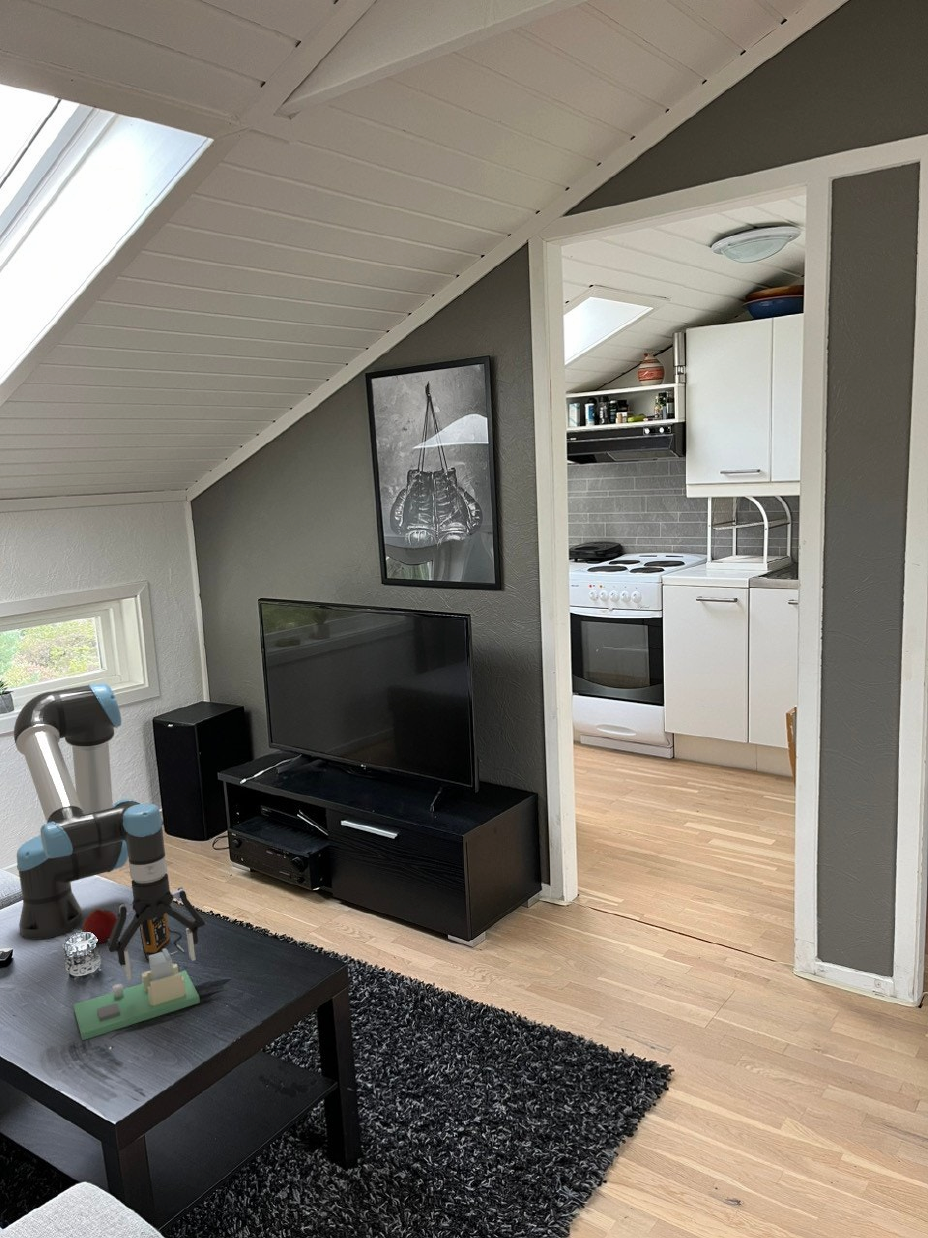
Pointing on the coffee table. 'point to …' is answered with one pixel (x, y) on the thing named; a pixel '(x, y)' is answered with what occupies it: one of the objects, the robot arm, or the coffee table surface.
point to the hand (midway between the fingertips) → (161, 967)
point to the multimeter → (155, 934)
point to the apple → (100, 924)
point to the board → (135, 1003)
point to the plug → (161, 965)
